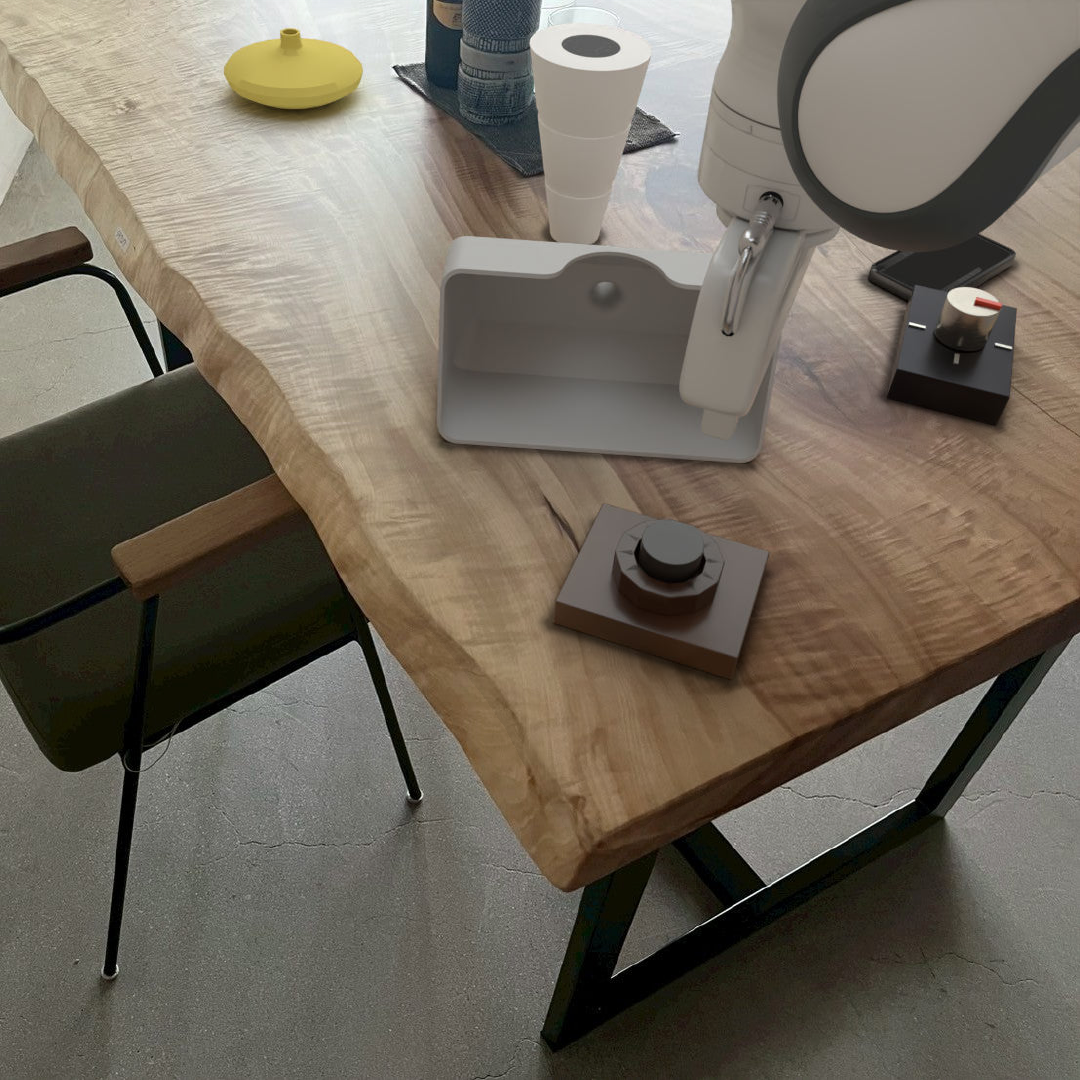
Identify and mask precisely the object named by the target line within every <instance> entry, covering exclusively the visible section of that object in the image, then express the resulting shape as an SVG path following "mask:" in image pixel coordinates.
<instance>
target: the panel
mask: <svg viewBox="0 0 1080 1080" xmlns="http://www.w3.org/2000/svg"><path fill="white" fill-rule="evenodd" d="M948 293H949V292H945V291H940V290H936V289H932V288H927V287H923V286H919V285H915V286H914V289H913V291H912V294H911V297H910V300H909V302H908V303H907V306H906V309H905V312H904V315H903V319H902V325H901V329H900V333H899V338H898V341H897V347H896V352H895V357H894V361H893V366H892V370H891V374H890V378H889V383H888V388H887V392H886V398H887V399H889V400H895V401H899V402H901V403H906V404H910V405H914V406H919V407H922V408H926V409H929V410H934V411H938V412H941V413H944V414H945V413H946V414H949V415H953V416H956V417H957V416H958V417H962V418H965V419H968V420H972V421H973V420H974V421H977V422H981V423H985V424H988V425H993V426H997V425H998V423H999V421H1000V419H1001V417H1002V415H1003V412H1004V411H1005V408H1006V406H1007V404H1008V402H1009V400H1010V398H1011V389H1012V387H1011V386H1012V375H1013V363H1014V361H1013V360H1014V350H1015V339H1016V325H1017V312H1018V308H1017V307H1014V306H1009V305H1005V304H1002V307H1001V310H1000V313H999V315H998V317H997V320H996V322H995V324H994V327H993V329H992V331H991V334H990V336H989V338H988V341H987V343H986V345H985V346H984V347H983V348H982V349H980V350H977V351H960V350H956V349H953V348H950V347H948V346H946V345H944V344H943V343H941V342H940V341H939V340H938V339H937V338H936V336H935V334H934V328H935V325H936V323H937V320H938V317H939V315H940V312H941V310H942V307H943V304H944V302H945V299H946V297H947V294H948Z"/></svg>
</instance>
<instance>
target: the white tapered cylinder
mask: <svg viewBox="0 0 1080 1080" xmlns="http://www.w3.org/2000/svg"><path fill="white" fill-rule="evenodd" d="M529 47H530V48H529V49H530V58H531V68H532V76H533V86H534V96H535V105H536V110H537V121H538V123H537V124H538V131H539V140H540V149H541V158H542V159H541V160H542V167H543V174H544V187H545V196H546V205H547V206H546V207H547V215H548V216H547V217H548V223H549V224H548V225H549V235H550V236H551V237H550V238H552V239H553V240H554V242H559V243H573V244H587V245H593V244H595V243H596V242H597V241H598V239H599V236H600V233H601V230H602V226H603V223H604V219H605V215H606V212H607V209H608V206H609V202H610V198H611V195H612V191H613V188H614V182H615V180H616V178H617V174H618V170H619V167H620V164H621V161H622V157H623V153H624V150H625V146H626V143H627V140H628V136H629V133H630V130H631V127H632V119H633V118H634V116H635V113H636V110H637V106H638V102H639V99H640V96H641V92H642V90H643V86H644V82H645V79H646V75H647V73H648V68H649V65H650V61H651V58H652V54H653V48H652V46H651V45H650V43H649V42H648V41H647V40H646V39H645V38H644V37H642V36H640V35H638V34H636V33H634V32H632V31H629V30H626V29H623V28H621V27H616V26H612V25H607V24H600V23H587V22H569V23H561V24H554V25H550V26H548V27H547V26H546V27H544V28H542V29H540V30H537V32H535V33H534V34H532V36H531V37H530V40H529Z"/></svg>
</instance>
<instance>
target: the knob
mask: <svg viewBox="0 0 1080 1080" xmlns="http://www.w3.org/2000/svg"><path fill="white" fill-rule="evenodd" d="M1002 305H1003V303H1002V302H1000V301H999V300H998V298H996V296H994V295H993V294H991V293H990V292H988V291H985V290H984V289H983V290H982V289H979V288H977V287H975V288H971V287H959V288H955V289H952V290H951V291H949V293H948V294H947V297H946V299H945V302H944V304H943V307H942V310H941V312H940V315H939V317H938V320H937V323H936V325H935V328H934V334H935V336H936V338H937V339H938V340H939V341H940V342H941V343H943V344H944V345H946V346H948V347H950V348H953V349H956V350H960V351H977V350H980V349H982V348H983V347H984V346H985V345H986V343H987V341H988V338H989V336H990V334H991V331H992V329H993V327H994V324H995V322H996V320H997V317H998V315H999V313H1000V310H1001V307H1002Z"/></svg>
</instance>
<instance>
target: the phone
mask: <svg viewBox="0 0 1080 1080" xmlns="http://www.w3.org/2000/svg"><path fill="white" fill-rule="evenodd" d="M1016 256H1017V253H1016V251H1015V250H1014V249H1012V248H1011V247H1008V246H1007V245H1005V244H1002V243H1000V242H998V241H996V240H994V239H991V238H990V237H987V236H985V235H983V234H981V233H979V234H978V235H976V236H974V237H972V238H971V239H969V240H966V241H964V242H962V243H960V244H957V245H954V246H952V247H948V248H945V249H940V250H935V251H928V252H904V251H896V250H895V251H894V252H892V253H891V254H889V255H887V256H885V257H883V258H881V259H879V260H878V261H875V262H874V263H872V264H871V265H870V269H869V272H868V275H867V278H868V280H869V281H870V282H871V283H872V284H875V285H876V286H878V287H880V288H882V289H884V290H886V291H887V292H890V293H892V294H894V295H896V296H897V297H899V298H901V299H903V300H905V301H906V302H908V303H909V300H910V297H911V294H912V291H913V289H914V286H915V285H919V286H923V287H927V288H932V289H936V290H940V291H945V292H949V291H951V290H952V289H955V288H959V287H971V288H977V287H979V286H980V285H983V284H984V283H985V282H987V281H988V280H991V279H992V278H993V277H996V276H997V275H999V274H1001V273H1002V272H1004V271H1006V270H1007V269H1009V268H1010V267H1011V266H1013V262H1014V260H1015V258H1016Z"/></svg>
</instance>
